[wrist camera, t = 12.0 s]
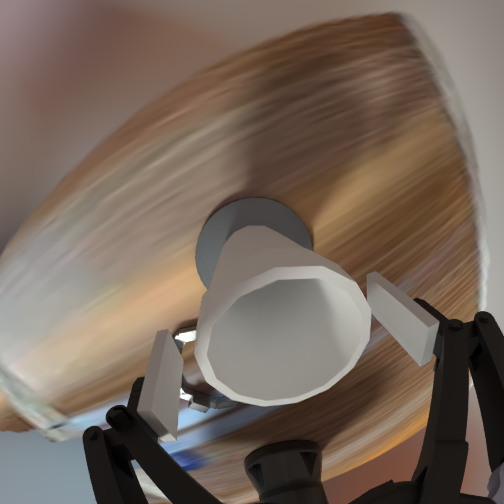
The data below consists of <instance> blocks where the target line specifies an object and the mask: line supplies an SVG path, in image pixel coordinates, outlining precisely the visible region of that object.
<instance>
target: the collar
mask: <svg viewBox="0 0 504 504" xmlns="http://www.w3.org/2000/svg"><path fill="white" fill-rule="evenodd" d="M196 327H197V325H194V326H189V327H185V328H180V329H179V330H177V332H176V334H175V335H174V337H173V340H174V342H175V344H176V346H177V348H178V350H179V352H180V354H181V353H182V347H183V345H184V344H185V342H188V341H193V340H195V338H196ZM180 398H183V399H186V400H189V405H188V408H191V409H194V410H197V411H200V412H204V413H206V412H207V411H208V409H209V408H210V407H211V408H214V409H216V408H217V409H221V408H227V407H232V406H237V405H242V404H247V403H244V402H239V401H235V400H231V399H230V398H228V397H222V398H214V397H211V396H210V395H207V394H204V393H201V392H198V391H195V390H191V389H188V388H185V387H184V385H183V384H182V382H181V391H180Z"/></svg>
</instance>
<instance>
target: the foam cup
mask: <svg viewBox="0 0 504 504" xmlns="http://www.w3.org/2000/svg"><path fill="white" fill-rule="evenodd" d="M370 326H371V308H370V306H369V304H368V302H367V301H366V299H365V297H364V295H363V293H362V292H361V290H360V288H359V286H358V285H357V283H356V282H355V281H354V280H353V279H352V278H351V277H350V276H349V275H348V274H347V273H346V272H345V271H344V270H343V269H342V268H341V267H340V266H339V265H338V264H336V263H334V262H332V261H330V260H329V259H327V258H325V257H323V256H321V255H319V254H317V253H315V252H313V251H311V250H309V249H307V248H304V247H302V246H300V245H299V244H297V243H295V242H294V241H292V240H290V239H289V238H287V237H285V236H284V235H282V234H280V233H278V232H276V231H274V230H272V229H270V228H268V227H266V226H247V227H244V228H242V229H240V230H238V231H236V232H234V233H233V234H232V235H231V237H230V238H229V239H228V240H227V241H226V243H225V244H224V246H223V248H222V251H221V254H220V257H219V260H218V263H217V266H216V269H215V272H214V275H213V278H212V281H211V284H210V287H209V289H208V290H207V291H206V292H205V294H204V295H203V297H202V301H201V306H200V311H199V317H198V322H197V327H196V338H195V351H194V355H195V357H196V360H197V362H198V364H199V367H200V369H201V371H202V373H203V375H204V378H205V380H206V382H207V383H209V384H210V385H211V386H213V387H214V388H215V389H217V390H218V391H220V392H221V393H223V394H224V395H225V396H227V397H228V398H230V399H231V400H235V401H239V402H244V403H248V404H253V405H258V406H274V405H283V404H291V403H297V402H300V401H302V400H305V399H307V398H309V397H312V396H314V395H316V394H319V393H321V392H323V391H325V390H328V389H329V388H330V387H332V386H333V385H334V384H335V383H336V382H338V381H339V380H340V379H341V378H342V377H343V376H345V375H346V374H347V373H348V372H349V371H350V370H351V369H352V368H354V366H355V364H356V363H357V361H358V359H359V358H360V356H361V354H362V352H363V351H364V349H365V347H366V345H367V343H368V341H369V339H370Z"/></svg>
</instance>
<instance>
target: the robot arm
mask: <svg viewBox="0 0 504 504" xmlns="http://www.w3.org/2000/svg"><path fill="white" fill-rule="evenodd" d="M366 279H367V302H368V304H369V306H370V308H371V313H372V314H373V315H374V317H375V318H376V319H377V320H378V321H379V322H380V323H381V324H382V325H383V326H384V327H385V328H386V329H387V330H388V332H389V333H390V334H391V335H392V336H393V337H394V338H395V339H396V340H397V341H398V342H399V343H400V345H401V346H402V347H403V348H404V349H405V350H406V351H407V352H408V353H409V355H410V356H411V357H412V358H413V359H414V360H415V361H416V362H417V364H418V365H419V366H420V367H421V366H423V365H425V364H426V363H428V362H430V361H431V358H432V354H434V355H435V356H436V357H437V358H436V361H435V365H434V369H433V371H435V374H434V384H433V392H432V399H431V406H430V412H429V418H428V423H427V428H426V433H425V437H424V442H423V446H422V450H421V454H420V457H419V461H418V465H417V467H416V470H415V472H414V474H413V476H412V479H411V481H401V482H396V483H393V480H390V481H388V482H386V483H384V484H382V485H379V486H377V487H375V488H373V489H370V490H368V491H367V492H366V493H364V494H363V495H361V496H360V497H358V498H357V499H355V500H354V501H352V502H350V503H349V504H504V336H503V334H502V332H501V330H500V328H499V327H498V325H497V322H496V321H495V319H494V317H493V316H492V315H491V314H490V313H488V312H485V311H480V312H477V313H476V314H475V317H474V321H470V322H467V323H463V322H462V321H460V320H458V319H450V320H449V319H447V318H446V317H445V316H444V315H442V314H441V313H440V312H439V311H437V310H436V309H434V307H432V306H430V304H428V303H427V302H426V301H425V300H422V299H419V298H415V299H413V300H412V299H411V298H410V297H409V296H407V295H406V294H405V293H404V292H402V291H401V290H400V289H398V288H397V287H396V286H395V285H393V284H392V283H391V282H389V281H388V280H387V279H385V278H384V277H383V276H382V275H380V274H379V273H378V272H376V271H375V272H372V273H369V274H366ZM183 362H184V360H183V358H182V356H181V354H180V352H179V350H178V348H177V346H176V344H175V342H174V340H173V338H172V336H171V334H170V332H169V330H168V329H166V330H161V331H157V335H156V338H155V342H154V345H153V349H152V352H151V356H150V360H149V363H148V367H147V371H146V375H145V377H139V378H137V380H136V381H135V382H134V384H133V386H132V390H131V393H130V398H129V401H128V405H127V407H125V406H124V405H116V406H114V407H112V408H111V409H110V410H109V411H108V412H107V414H106V421H107V423H108V424H109V425H110V426H111V427H112V428H110V429H107V430H102V429H101V428H100V427H98V426H91V427H89V428H87V429H86V430H85V431H84V434H83V444H84V450H85V455H86V461H87V466H88V471H89V474H90V479H91V483H92V487H93V491H94V495H95V498H96V502H97V504H149V503H148V501H147V499H146V497H145V495H144V493H143V490H142V488H141V486H140V483H139V481H138V479H137V476H136V474H135V471H134V468H133V466H132V463H131V460H134V459H135V460H136V461H137V462H138V463H139V465H140V466H141V467H142V469H143V470H144V471H145V473H146V474H147V475H148V476H149V477H150V479H151V480H152V481H153V482H154V483H155V485H156V486H157V487H158V488H159V489H160V490H161V491H162V493H163V494H164V495H165V496H166V497H167V498H168V499H169V500H170V501H171V502H172V503H173V504H223V503H222V502H220V501H219V500H218V499H217V498H215V497H214V496H213V495H212V494H211V493H209V492H208V491H207V490H206V489H205V488H204V487H202V486H201V485H200V484H199V483H198V482H197V481H196V480H195V479H193V478H192V477H191V476H190V475H189V474H188V473H187V472H186V471H185V470H184V469H183V468H182V467H181V466H180V465H179V464H178V463H177V462H176V461H175V460H174V459H173V458H172V457H171V456H170V455H169V454H168V453H167V452H166V451H165V450H164V449H163V448H162V447H161V446H160V444H159V443H158V442H157V441H158V437H159V438H160V439H161V440H162V441H163V442H164V441H176V440H177V426H178V413H179V401H180V391H181V381H182V371H183ZM468 366H469V368H468ZM469 370H470V373H471V376H472V380H473V383H474V387H475V390H476V394H477V398H478V402H479V407H480V411H481V416H482V421H483V426H484V431H485V437H486V444H487V451H488V458H489V465H490V468H491V472H492V474H491V476H490V478H489V483H488V485H487V489H488V491H489V495H488V497H482V496H475V495H469V494H464V493H460V489H461V485H462V481H463V476H464V472H465V466H466V460H467V455H468V446H469V445H468V442H466V441H465V437H466V427H467V416H468V395H469ZM244 465H245V471H246V474H247V475H248V477H249V479H250V481H251V482H252V484H253V486H254V487H255V489H256V491H257V492H258V494H259V499H260V503H256V504H329V503H328V500H327V497H326V494H325V491H324V488H323V485H322V482H321V472H322V453H321V450H320V447H319V445H318V444H317V443H315V442H311V441H288V442H282V443H277V444H273V445H270V446H267V447H264V448H261V449H259V450H257V451H255V452H253V453H251V454H250V455H248V456H247V457H246V459H245V461H244Z"/></svg>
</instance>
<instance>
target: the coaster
mask: <svg viewBox="0 0 504 504" xmlns="http://www.w3.org/2000/svg"><path fill="white" fill-rule="evenodd" d="M247 226H266V227H268V228H270V229H272V230H274V231H276V232H278V233H280V234H282V235H284V236H285V237H287V238H289V239H290V240H292V241H294V242H295V243H297V244H299V245H300V246H302V247H304V248H307V249H309V250H311V251H312V243H311V239H310V235H309V232H308V230H307V228H306V226H305V224H304V223H303V221H302V220H301V219H300V217H299V216H298V215H297V214H296V213H295V212H293V211H292V210H291V209H289V208H288V207H287V206H285V205H283V204H281V203H280V202H277V201H275V200H272V199H267V198H261V197H249V198H243V199H239V200H236V201H233V202H231V203H229V204H226V205H225V206H223V207H222V208H220V209H219V210H217V211H216V212H215V213H214V214H213V215H212V216H211V217H210V218H209V219H208V220H207V222H206V223H205V225H204V226H203V228H202V230H201V232H200V235H199V238H198V241H197V246H196V256H195V259H196V267H197V271H198V274H199V276H200V279H201V281H202V282H203V284H204V286H205V287H206V288H207V289H209V287H210V284H211V281H212V278H213V275H214V272H215V269H216V266H217V263H218V260H219V257H220V254H221V251H222V248H223V246H224V244H225V243H226V241H227V240H228V239H229V238H230V237H231V235H232V234H233V233H234V232H236V231H238V230H240V229H242V228H244V227H247Z"/></svg>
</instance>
